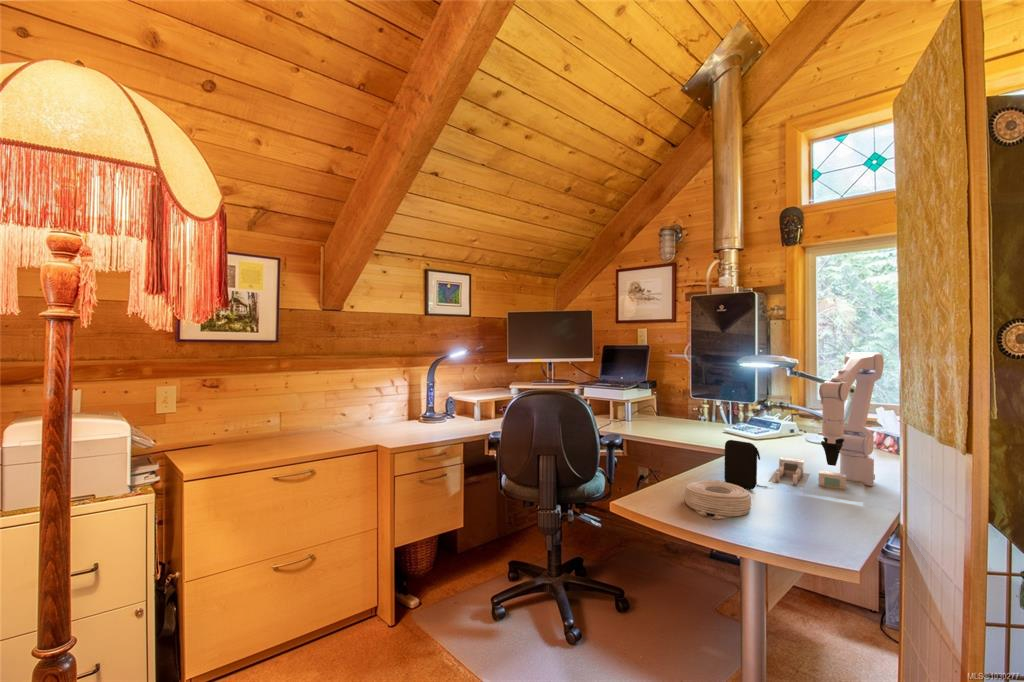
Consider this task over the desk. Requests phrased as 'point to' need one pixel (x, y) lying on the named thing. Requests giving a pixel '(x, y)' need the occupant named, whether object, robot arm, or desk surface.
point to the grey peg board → (789, 478)
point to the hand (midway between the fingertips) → (832, 462)
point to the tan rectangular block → (791, 465)
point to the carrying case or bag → (741, 464)
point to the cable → (717, 499)
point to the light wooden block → (832, 479)
